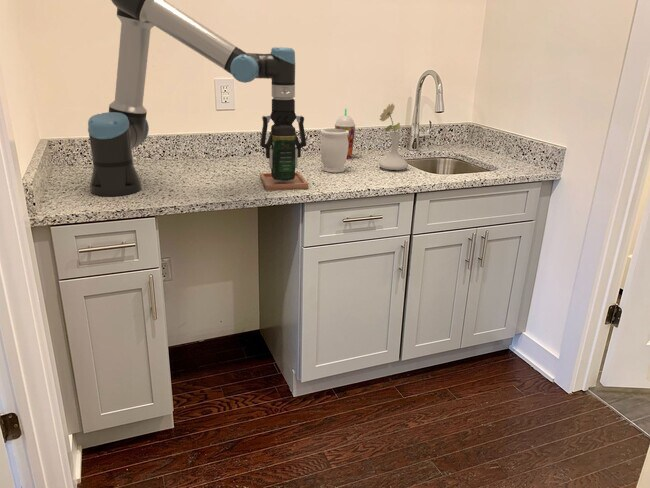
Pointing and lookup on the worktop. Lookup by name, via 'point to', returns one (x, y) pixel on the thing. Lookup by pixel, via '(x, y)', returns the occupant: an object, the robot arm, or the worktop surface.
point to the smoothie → (348, 125)
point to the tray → (283, 182)
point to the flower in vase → (392, 159)
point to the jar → (334, 149)
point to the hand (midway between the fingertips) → (283, 167)
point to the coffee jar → (283, 152)
